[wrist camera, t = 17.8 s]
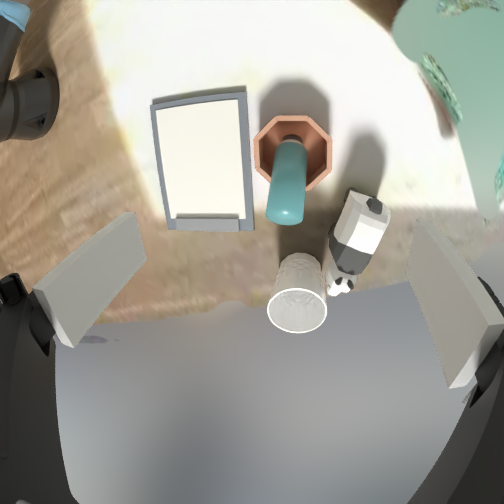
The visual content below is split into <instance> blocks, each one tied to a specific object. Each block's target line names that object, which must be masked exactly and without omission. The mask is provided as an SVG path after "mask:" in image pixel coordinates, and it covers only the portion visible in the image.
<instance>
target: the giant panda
mask: <svg viewBox="0 0 504 504" xmlns="http://www.w3.org/2000/svg"><path fill="white" fill-rule="evenodd" d="M344 202H345V206H344V208H343V211H342V213H341V215H340V218H339V220H338V222H337V224H333V226H332V227H331V229H330V231H329V233H328V237H329V248H330V251H331V253H332V256H333V259H332V260H331V261H330V263H329V266H328V269H327V271H326V274H325V282H326V283H327V284H328V286H327V294H328V295H330V296H333V297H335V296H336V295H338V294H339V293H340V292H346V293H348V292H349V291H350V290H351V289H353V288H354V286H353V285H354V284H355V282H356V281H357V274H360V273H362V272H363V270H364V269H365V267H366V266H367V265H368V263H369V261H370V259H371V257H372V255H373V253H374V251H375V249H376V248H377V246H378V244H379V242H380V240H381V238H382V235H383V233H384V231H385V229H386V227H387V225H388V223H389V221H390V216H391V213H390V211H389V208H388V207H387V206H386V205H385V204H384V203H382V202H380V201H379V200H378V199H376V198H375V197H374V196H366V195H363V194H360V193H359V192H358V191H357V190H355V189H354V188H349V189H348V191H347V192H346V195H345V198H344Z"/></svg>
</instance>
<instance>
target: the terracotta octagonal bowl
mask: <svg viewBox="0 0 504 504" xmlns="http://www.w3.org/2000/svg"><path fill="white" fill-rule="evenodd" d="M288 134H295V135H298V136H300V137H301V138H302V140H303V145H304V147H305V148H306V150H307V152H308V156H307V173H306V188H305V191H308V189H309V190H311V189H312V188H313V187H314V186H316V185H317V184H318V183H319V182H320V181H321V180H322V179H323V178H324V177H325V176H327V175H328V174H329V173H330V172H331V170H332V139H331V137H330V136H329V135H328V134H327V133H326V132H325V131H324V130H323V129H322V128H321V127H320V126H319V125H318V124H317V123H316V122H315V121H314V120H313V119H312V118H311V117H310V116H308V115H278V116H275V117H274V118H273V119H272V120H271V121H270V122H269V123H268V124H267V125H266V126H265V127H264V128H263V129H262V130H261V131H260V132H259V133H258V134H257V135H256V137H255V138H254V140H253V141H254V158H255V169H256V171H257V172H259V173H260V174H261V175H262V176H263V177H264V178H265V179H266V180H267V181H268V182H269V183H270V182H271V175H272V168H273V162H274V155H275V149H276V147H277V146H278V145H279V144H280V143H281V142H282V139H283V137H284V136H285V135H288Z"/></svg>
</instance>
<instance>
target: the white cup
mask: <svg viewBox="0 0 504 504" xmlns="http://www.w3.org/2000/svg"><path fill="white" fill-rule="evenodd" d="M267 313H268V316H269V318H270V320H271V321H272V323H273V324H274V325H276V326H277V327H278V328H280V329H282V330H284V331H288V332H292V333H304V332H308V331H311V330H314V329H316V328H317V327H319V326H320V325H321V324H322V323H323V321H324V320H325V318H326V316H327V304H326V295H325V287H324V281H323V276H322V272H321V266H320V263H319V262H318V261H317V260H316V258H315V257H313V256H311V255H309V254H307V253H294V254H291V255H288V256H287V257H286V258H285V259H284V260H283V261H282V262H281V264H280V268H279V271H278V273H277V275H276V278H275V281H274V285H273V289H272V292H271V295H270V299H269V302H268V306H267Z"/></svg>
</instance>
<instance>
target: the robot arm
mask: <svg viewBox="0 0 504 504" xmlns="http://www.w3.org/2000/svg"><path fill="white" fill-rule="evenodd" d="M29 16H30V8H29V7H28V6H26V5H24V4H21V3H17V2H13V1H7V0H0V142H3V141H5V140H8V139H18V140H34V139H37V138H40V137H43V136H44V135H45V134H46V133H47V132H48V131H49V130H50V128H51V127H52V125H53V123H54V120H55V118H56V114H57V110H58V104H59V88H58V83H57V79H56V77H55V75H54V73H53V72H52V71H51V70H50V69H48V68H35V69H32V70H29V71H27V72H25V73H23V74H21V75H19V76H18V77H16V78H14V79H12V80H8V79H9V76H10V72H11V69H12V65H13V62H14V59H15V55H16V52H17V49H18V46H19V44H20V41H21V38H22V35H23V34H24V33H25V27H26V24H27V22H28V19H29ZM146 261H147V258H146V254H145V250H144V247H143V243H142V239H141V234H140V230H139V226H138V222H137V217H136V213H135V212H124V213H122V214H121V215H119V216H118V217H117V218H115V219H114V220H113V221H111V222H110V223H109V224H107V225H106V226H105V227H103V228H102V229H101V230H99V231H98V232H97V233H95V234H94V235H93V236H92V237H90V238H89V239H88V240H87V241H85V242H84V243H83V244H82V245H80V246H79V247H78V248H77V249H75V250H74V251H73V252H72V253H71V254H69V255H68V256H67V257H66V258H65V259H63V260H62V261H61V262H60V263H59V264H58V265H57V266H55V267H54V268H53V269H52V270H51V271H50V272H49V273H47V274H46V275H45V276H44V277H43V278H42V279H41V280H40V281H39V282H38V283H37V284H35V285H34V286H33V287H32V289H33V291H32V292H31V293H30V294H29V295H28V293H27V291H26V289H25V287H24V284H23V282H22V280H21V278H20V276H19V274H18V273H12V274H9V275H7V276H5V277H4V278H2V279H1V280H0V299H1V300H2V302H3V304H2V303H1V301H0V504H79V503H78V502H77V501H76V500H75V499H74V497H73V496H72V494H71V492H70V489H69V485H68V481H67V476H66V471H65V467H64V461H63V456H62V450H61V443H60V436H59V428H58V418H57V407H56V388H55V348H56V345H55V341H54V340H53V338H52V337H53V335H54V334H55V333H56V334H57V336H58V337H59V339H60V340H61V342H62V343H63V344H65V345H67V346H70V347H73V348H75V347H76V345H77V344H78V343H79V341H80V340H81V339H82V337H83V336H84V335H85V333H86V332H87V331H88V330H89V328H90V327H91V326H92V325H93V323H94V322H95V321H96V320H97V318H98V317H99V316H100V315H101V313H102V312H103V311H104V310H105V308H106V307H107V306H108V305H109V304H110V302H111V301H112V300H113V299H114V297H115V296H116V295H117V294H118V293H119V292H120V290H121V289H122V288H123V287H124V286H125V284H126V283H127V282H128V281H129V280H130V279H131V278H132V276H133V275H134V274H135V273H136V272H137V271H138V270H139V268H140V267H141V266H142V265H143V264H144V263H145V262H146ZM405 273H406V275H407V277H408V280H409V282H410V284H411V286H412V288H413V291H414V293H415V295H416V298H417V300H418V303H419V305H420V307H421V310H422V312H423V315H424V317H425V320H426V322H427V325H428V328H429V331H430V333H431V336H432V339H433V342H434V345H435V348H436V350H437V353H438V356H439V360H440V363H441V366H442V369H443V372H444V376H445V379H446V382H447V386H448V388H455V387H461V386H466V385H467V384H468V382H469V381H470V380H471V378H472V377H473V376H474V374H475V376H476V379H477V381H478V382H477V384H476V385H475V386H474V388H473V389H472V390H471V391H470V392H469V394H468V395H467V396H466V397H465V399H464V400H463V401H462V402H463V403H465V402H466V401H467V400H468V402H467V404H466V407H465V409H464V411H463V413H462V415H461V417H460V419H459V422H458V423H457V425H456V427H455V430H454V431H453V433H452V435H451V437H450V439H449V441H448V443H447V444H446V446H445V448H444V450H443V451H442V453H441V455H440V457H439V458H438V460H437V462H436V463H435V465H434V466H433V468H432V470H431V471H430V473H429V474H428V476H427V477H426V479H425V480H424V481H423V483H422V484H421V486H420V487H419V489H418V490H417V491H416V493H415V494H414V495H413V497H412V498H411V499H410V501H409V502H408V503H407V504H504V307H503V306H502V304H501V303H499V300H498V298H497V297H496V296H495V295H494V292H493V291H492V289H491V288H490V286H489V285H488V284H487V283H486V282H485V281H483V280H482V279H481V278H480V277H477V276H476V275H475V273H474V272H473V271H472V269H471V268H470V267H469V265H468V264H467V263H466V261H465V260H464V259H463V257H462V256H461V255H460V253H459V252H458V251H457V250H456V248H455V247H454V246H453V245H452V243H451V242H450V241H449V240H448V239H447V237H446V236H445V235H444V234H443V233H442V232H441V230H440V229H439V228H438V227H437V226H436V225H435V223H434V222H433V221H432V220H425V219H417V222H416V227H415V232H414V237H413V242H412V246H411V251H410V255H409V259H408V264H407V268H406V271H405Z"/></svg>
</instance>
